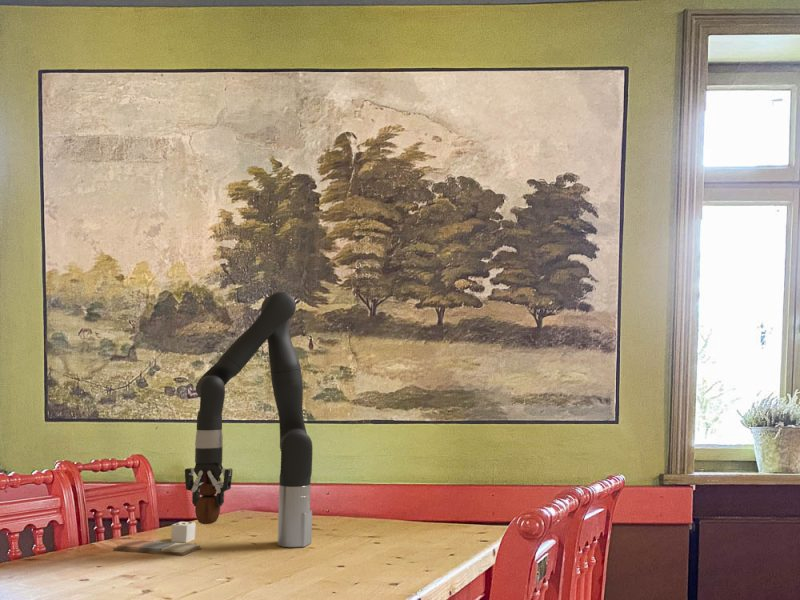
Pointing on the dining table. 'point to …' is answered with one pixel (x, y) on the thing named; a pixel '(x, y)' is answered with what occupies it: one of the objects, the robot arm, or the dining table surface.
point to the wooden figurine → (207, 503)
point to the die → (183, 532)
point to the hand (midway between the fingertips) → (207, 505)
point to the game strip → (157, 547)
